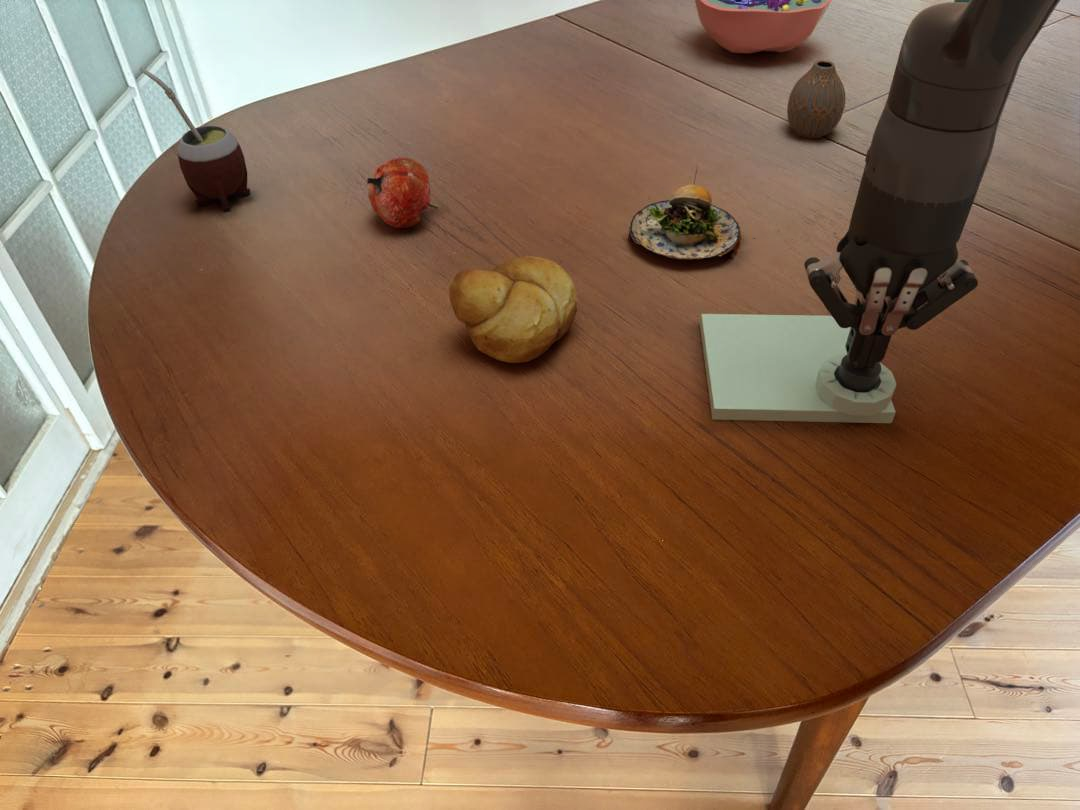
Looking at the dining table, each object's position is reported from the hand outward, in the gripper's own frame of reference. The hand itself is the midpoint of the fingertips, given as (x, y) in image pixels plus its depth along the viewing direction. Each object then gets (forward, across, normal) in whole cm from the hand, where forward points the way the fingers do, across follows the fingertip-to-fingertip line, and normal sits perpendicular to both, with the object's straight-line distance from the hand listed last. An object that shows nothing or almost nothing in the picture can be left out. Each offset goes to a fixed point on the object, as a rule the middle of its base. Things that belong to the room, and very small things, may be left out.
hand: (861, 361), depth 71 cm
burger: (+5, -12, +25) cm, 28 cm away
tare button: (+2, 0, 0) cm, 2 cm away
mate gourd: (+5, -66, +33) cm, 74 cm away
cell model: (+5, +2, +78) cm, 78 cm away
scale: (+5, -4, +4) cm, 8 cm away
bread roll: (+5, -28, +9) cm, 30 cm away
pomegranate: (+5, -43, +29) cm, 52 cm away
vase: (+5, +6, +51) cm, 52 cm away
